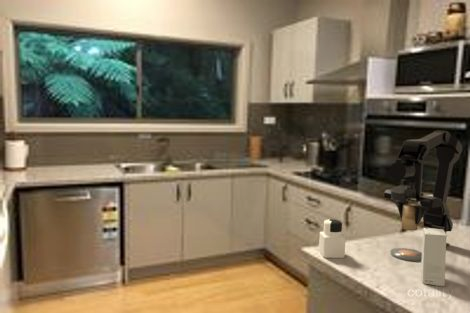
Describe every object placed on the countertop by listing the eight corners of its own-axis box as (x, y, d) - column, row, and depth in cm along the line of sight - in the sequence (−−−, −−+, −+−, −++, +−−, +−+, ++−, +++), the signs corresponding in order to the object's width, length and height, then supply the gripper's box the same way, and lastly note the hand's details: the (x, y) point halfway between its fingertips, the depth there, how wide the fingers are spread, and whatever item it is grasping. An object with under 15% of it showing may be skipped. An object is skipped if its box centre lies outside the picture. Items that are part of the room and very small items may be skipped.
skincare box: (444, 287, 115) (448, 236, 113) (421, 283, 117) (424, 233, 115) (441, 276, 122) (445, 228, 121) (419, 273, 125) (422, 226, 123)
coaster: (404, 248, 148) (404, 246, 148) (432, 258, 138) (432, 255, 138) (383, 253, 142) (383, 250, 142) (411, 263, 133) (411, 260, 133)
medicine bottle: (338, 251, 143) (340, 217, 142) (344, 258, 136) (346, 223, 135) (318, 251, 143) (320, 217, 142) (323, 258, 136) (325, 223, 135)
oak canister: (407, 225, 143) (409, 203, 142) (420, 229, 138) (422, 206, 138) (398, 227, 140) (399, 204, 139) (411, 231, 136) (412, 207, 135)
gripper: (374, 175, 141) (371, 219, 143) (422, 183, 125) (419, 233, 127) (395, 173, 147) (392, 215, 149) (444, 181, 131) (440, 228, 133)
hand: (409, 222), depth 139 cm, fingers closed on oak canister, 5 cm apart
